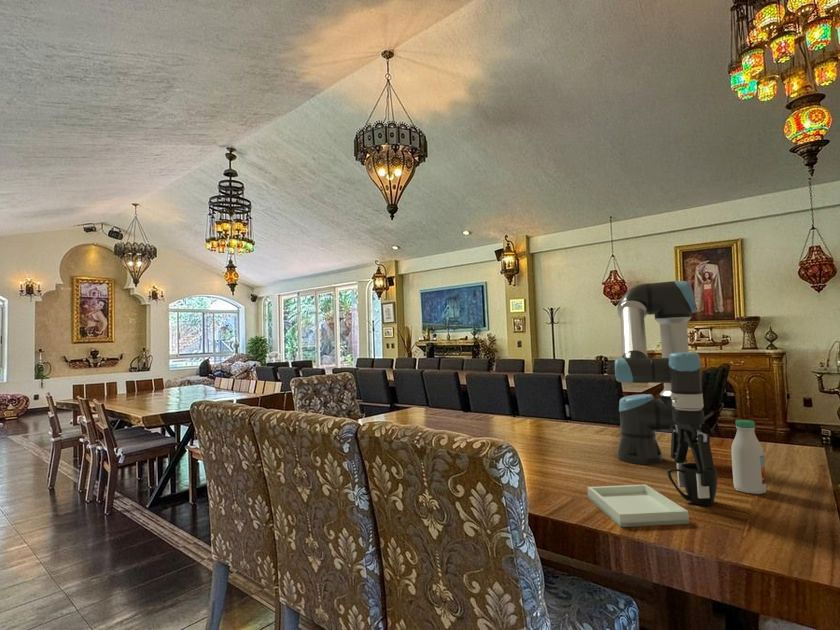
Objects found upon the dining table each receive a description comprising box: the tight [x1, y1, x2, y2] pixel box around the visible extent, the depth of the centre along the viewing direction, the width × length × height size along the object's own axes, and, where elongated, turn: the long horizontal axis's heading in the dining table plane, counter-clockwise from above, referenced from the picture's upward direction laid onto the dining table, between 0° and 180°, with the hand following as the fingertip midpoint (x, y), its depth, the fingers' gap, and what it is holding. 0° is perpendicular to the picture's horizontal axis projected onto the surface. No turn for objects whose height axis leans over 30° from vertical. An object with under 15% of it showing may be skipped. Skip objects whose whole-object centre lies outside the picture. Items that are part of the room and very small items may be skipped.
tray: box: [587, 484, 690, 528], centre depth 119 cm, size 17×20×3 cm
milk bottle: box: [730, 419, 767, 495], centre depth 130 cm, size 8×8×20 cm
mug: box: [666, 462, 718, 506], centre depth 123 cm, size 8×12×10 cm
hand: (693, 491), depth 122 cm, fingers closed on mug, 8 cm apart
